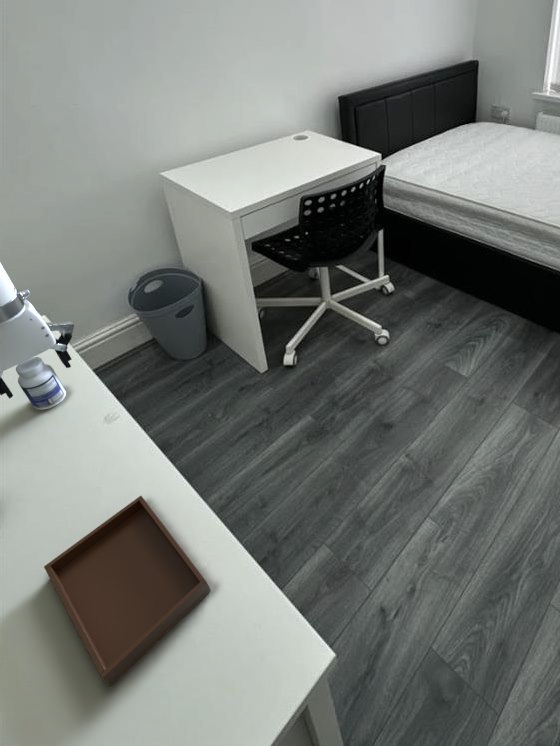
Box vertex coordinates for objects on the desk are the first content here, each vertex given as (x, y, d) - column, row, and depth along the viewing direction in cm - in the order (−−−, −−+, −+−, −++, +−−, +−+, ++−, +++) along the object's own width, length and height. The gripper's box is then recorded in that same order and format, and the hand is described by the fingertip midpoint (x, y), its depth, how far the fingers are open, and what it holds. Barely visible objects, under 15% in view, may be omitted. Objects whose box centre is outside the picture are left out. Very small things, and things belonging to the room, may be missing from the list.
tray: (51, 576, 68) (43, 566, 66) (146, 504, 76) (141, 495, 75) (110, 686, 58) (102, 678, 56) (211, 590, 66) (206, 581, 65)
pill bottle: (36, 394, 95) (13, 359, 89) (68, 385, 97) (48, 350, 91) (31, 414, 91) (7, 379, 85) (65, 404, 93) (44, 369, 87)
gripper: (45, 277, 89) (81, 344, 98) (-78, 325, 77) (-24, 396, 87) (60, 293, 85) (96, 361, 94) (-67, 346, 74) (-12, 418, 83)
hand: (38, 378), depth 91 cm, fingers open, 9 cm apart
